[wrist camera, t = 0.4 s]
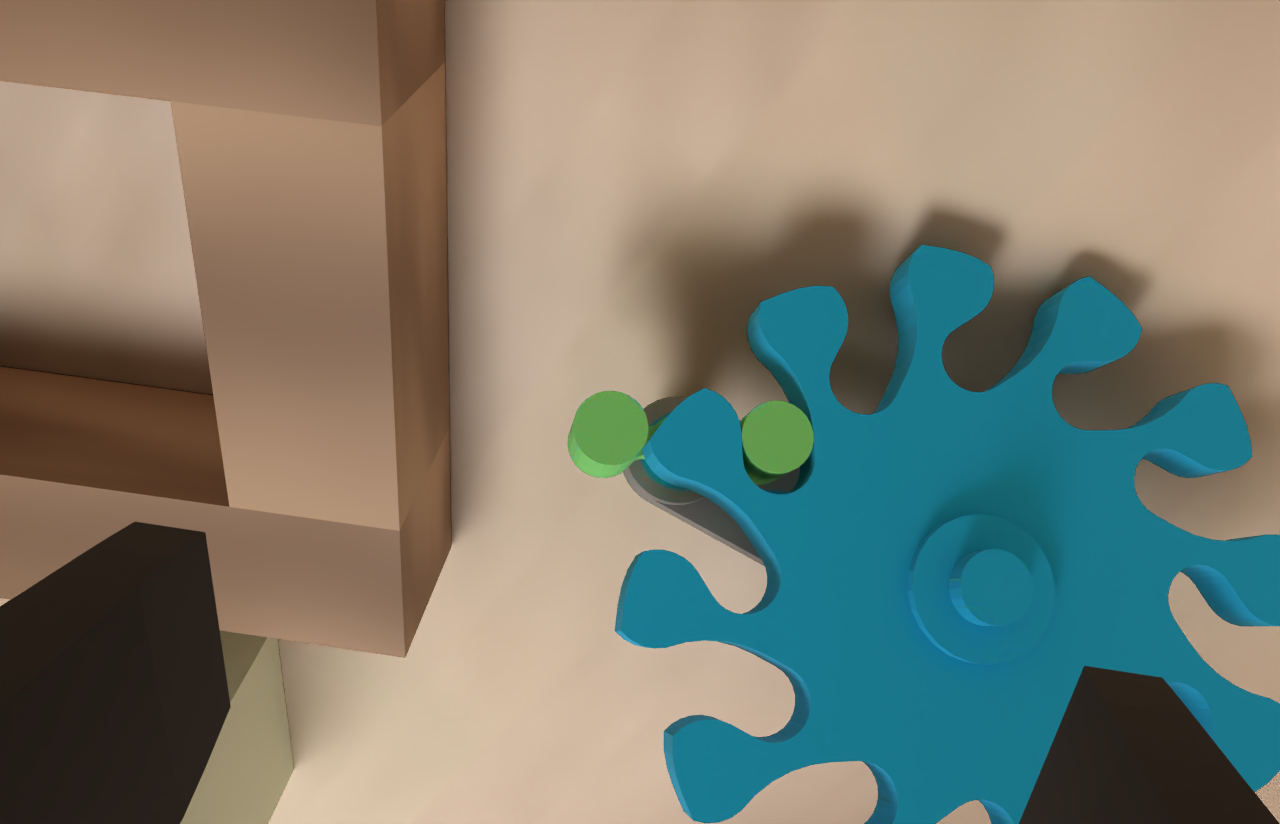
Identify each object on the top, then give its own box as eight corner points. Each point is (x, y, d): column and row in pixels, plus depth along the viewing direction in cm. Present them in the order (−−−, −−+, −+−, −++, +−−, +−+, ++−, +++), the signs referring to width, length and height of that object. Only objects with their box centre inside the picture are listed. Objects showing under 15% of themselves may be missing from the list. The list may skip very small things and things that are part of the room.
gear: (1437, 446, 16) (1187, 1139, 14) (1193, 496, 22) (987, 993, 20) (767, 71, 16) (405, 710, 14) (696, 219, 22) (432, 689, 20)
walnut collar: (451, 546, 22) (404, 657, 19) (-143, 462, 23) (-262, 558, 20) (442, -144, 15) (371, -112, 13) (-391, -231, 16) (-613, -216, 14)
